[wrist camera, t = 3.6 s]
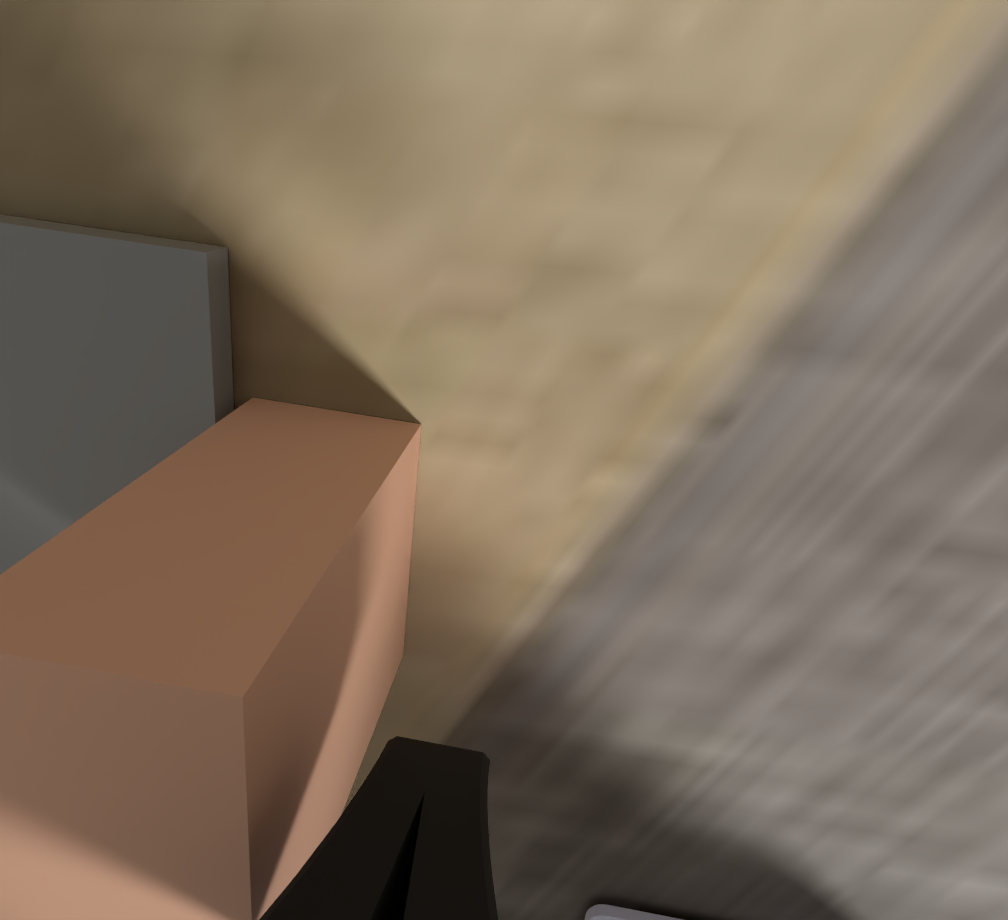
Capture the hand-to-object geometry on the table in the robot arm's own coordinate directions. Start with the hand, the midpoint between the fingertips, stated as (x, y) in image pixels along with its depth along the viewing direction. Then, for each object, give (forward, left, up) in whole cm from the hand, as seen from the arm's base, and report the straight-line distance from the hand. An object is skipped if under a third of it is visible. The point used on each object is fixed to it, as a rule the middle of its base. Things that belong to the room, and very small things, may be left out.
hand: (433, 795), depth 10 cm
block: (+4, 0, -6) cm, 7 cm away
